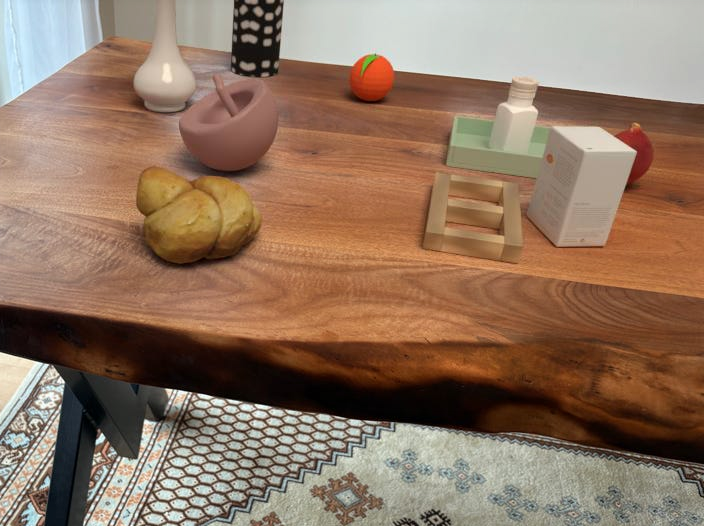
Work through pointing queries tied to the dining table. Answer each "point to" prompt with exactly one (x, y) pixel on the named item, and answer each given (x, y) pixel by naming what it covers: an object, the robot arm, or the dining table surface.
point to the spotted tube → (256, 37)
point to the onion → (641, 145)
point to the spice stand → (475, 218)
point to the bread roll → (195, 215)
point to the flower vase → (164, 66)
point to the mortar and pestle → (231, 125)
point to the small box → (580, 185)
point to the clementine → (371, 77)
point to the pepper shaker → (515, 118)
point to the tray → (475, 154)
